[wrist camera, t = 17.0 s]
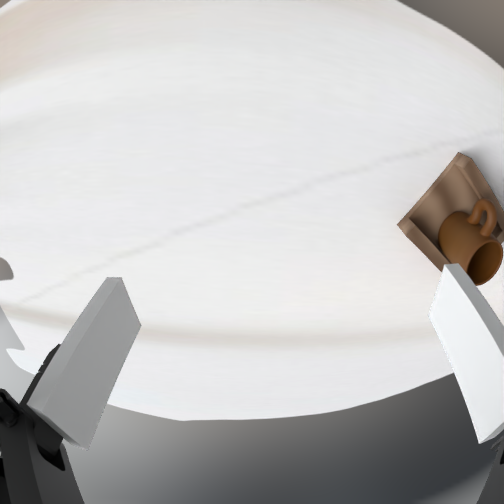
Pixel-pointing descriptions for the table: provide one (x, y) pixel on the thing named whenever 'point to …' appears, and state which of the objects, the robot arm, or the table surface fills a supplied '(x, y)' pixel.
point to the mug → (472, 242)
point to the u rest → (449, 207)
